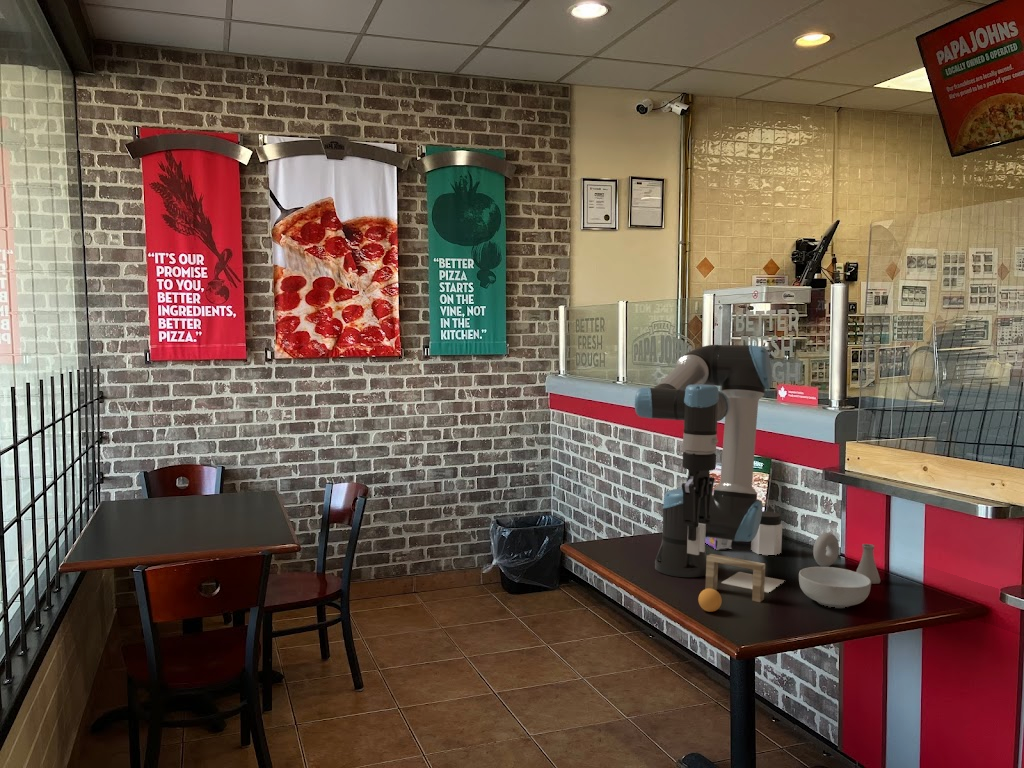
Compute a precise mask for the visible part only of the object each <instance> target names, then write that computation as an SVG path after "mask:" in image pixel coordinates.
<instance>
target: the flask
mask: <svg viewBox="0 0 1024 768" xmlns="http://www.w3.org/2000/svg"><path fill="white" fill-rule="evenodd" d="M861 545H862V547H861V548H862V555H861V559H860V561H859V563H858V566H857V568H856V571H855V572H857V573H860V574H862V575H864V576H866V577H868V578H869V579H870V581H871V585H873V584H874V585H876V584H878V585H879V584H880V583H881V582H882V581H881V578H880V574H879V571H878V569H877V565H876V561H875V558H874V557H875V556H874V549H875V547H876V545H874V544H871V543H862V544H861Z"/></svg>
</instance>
